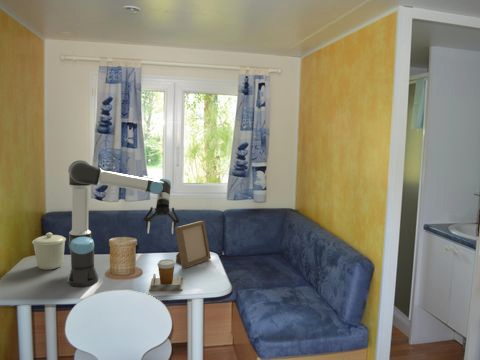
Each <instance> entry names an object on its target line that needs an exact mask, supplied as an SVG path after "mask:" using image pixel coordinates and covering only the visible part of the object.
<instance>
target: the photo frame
mask: <svg viewBox="0 0 480 360" xmlns="http://www.w3.org/2000/svg"><path fill="white" fill-rule="evenodd" d="M174 230H175V236H176V242H177V247H178V252H177V254H176V256H175V263H176V262H180V265H181V268H182V269H186V268H191V267H192V266H196V265H198V264H201V263H203V262H205V261H208V260H211V252H210V245H209V241H208V240H209V239H208V235H207V229H206V221H205V220H200V221H199V220H198V221H196V222H195V221H194V222H192V223H188V224H184V225H180V226H176V228H174Z"/></svg>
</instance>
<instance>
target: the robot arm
mask: <svg viewBox="0 0 480 360" xmlns="http://www.w3.org/2000/svg"><path fill="white" fill-rule="evenodd" d="M68 181H69V183H68V184H69V186H70V187H71V189H72V190H71V200H72V201H71V205H72V206H71V230H70V231H68V239H69V240H68V243H67V244H68V249H69V252H70V266H71V270H70V273H69V275H68V277H67V278H68V279H67V280H68V282H67V283H68V285H69V286H70V287H71V286H72V287H76V288H77V287H80V288H81V287H87V286H88V287H89V286H92V285H94V284H96V283H98V281H99V276H98V271H97V270H96V266H95V243H94V239H93V238H92V231H91V230H90V229H89V213H90V212H89V203H90V202H89V201H90V199H89V197H90V196H89V195H90V193H89V192H90V191H89V189H90V187H91V186H98V185H105V186H109V187H110V186H111V187H115V188H122V189H127V190H128V189H129V190H132V191H133V190H134V191H140V192H145V193H150V194H151V193H152V194H153V195H156V203H155V204H156V205H155V206H156V207H152V206H151V207H150V210H149V211H148V212H147V213H146V214H145V216H144V218H143V223H145V227H146V229H147V231H146V232H147V235H148V234H150V227H151V222H152V221H153V220H154V219H155V218H156V217H163V216H164V217H165V216H166V217H167V218H168V219H169V220H170V221H171V222H172V223H171V235H174V230H175V228H176V227H177V226H176V225H177V224H179V223H180V219H179V217H178V215H177V213H176V212H175V208H174V207H172V208H170V200H171V199H170V197H171V189H172V182H171V180H170V179H168V178H160V179H156V178H154V177H151V176H148V175H144V174H142V176H141V177H139V176H136V175H135V176H134V175H129V174H124V173H119V172H114V171H107V170H103V169H102V168H101V167H99V166H98V167H97V166H94V165H92V164H90V163H89V162H87V161H86V160H83V159H82V160H75V161H73V162H72V163H71V164H70V165H69V166H68ZM153 212H154V213H153ZM170 213H172V215H171V214H170Z"/></svg>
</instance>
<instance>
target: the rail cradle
mask: <svg viewBox="0 0 480 360" xmlns="http://www.w3.org/2000/svg"><path fill="white" fill-rule="evenodd" d="M156 275H157V274H156V273H153V275H152V278H151V281H150V285H149V288H148V292H149V291H154V292H181V291H183V283H184V282H183V280H184V277H182V273H181V272H180V273H178V277H173V281H172V284H160V277H158V278H156V277H157V276H156Z"/></svg>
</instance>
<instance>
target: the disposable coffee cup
mask: <svg viewBox="0 0 480 360" xmlns="http://www.w3.org/2000/svg"><path fill="white" fill-rule="evenodd" d="M157 267H158V274H159V275H158V276H159V278H160V284H172V281H173V278H174V274H175V267H176V261H175V260H173V259H168V258H167V259H161V260H159V261H158V262H157Z"/></svg>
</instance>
